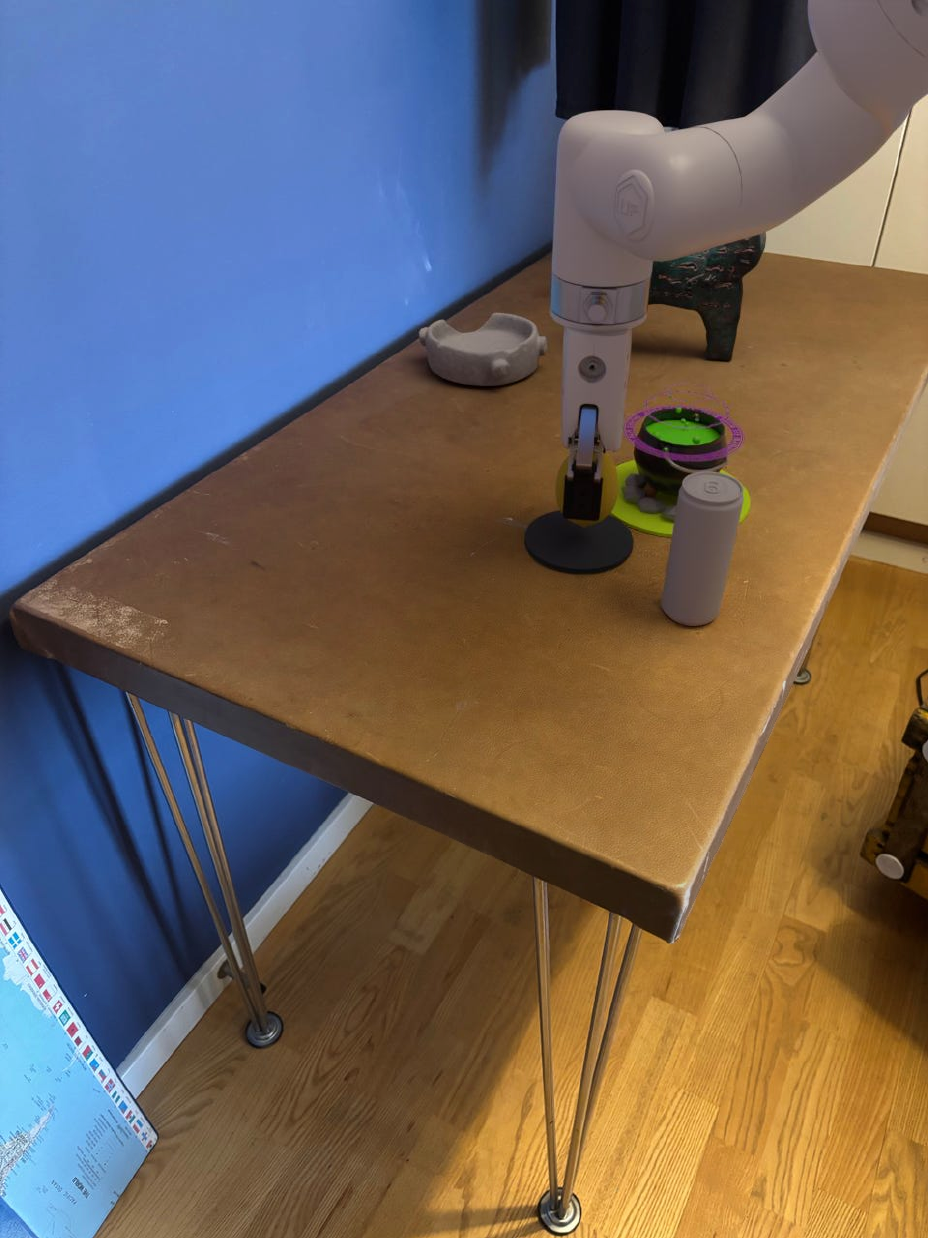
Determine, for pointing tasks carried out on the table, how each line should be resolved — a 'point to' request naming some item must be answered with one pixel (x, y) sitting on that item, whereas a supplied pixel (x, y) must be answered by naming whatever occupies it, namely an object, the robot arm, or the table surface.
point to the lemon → (608, 488)
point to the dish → (484, 350)
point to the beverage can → (701, 547)
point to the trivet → (578, 544)
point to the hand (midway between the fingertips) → (583, 497)
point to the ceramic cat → (709, 288)
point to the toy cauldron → (670, 463)
